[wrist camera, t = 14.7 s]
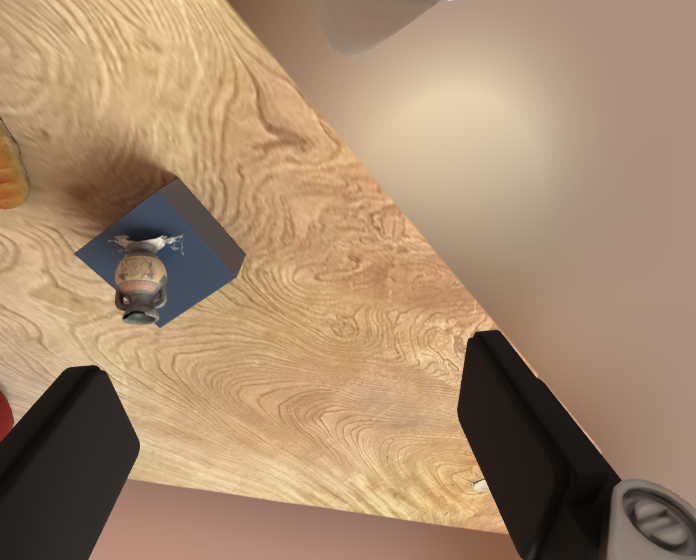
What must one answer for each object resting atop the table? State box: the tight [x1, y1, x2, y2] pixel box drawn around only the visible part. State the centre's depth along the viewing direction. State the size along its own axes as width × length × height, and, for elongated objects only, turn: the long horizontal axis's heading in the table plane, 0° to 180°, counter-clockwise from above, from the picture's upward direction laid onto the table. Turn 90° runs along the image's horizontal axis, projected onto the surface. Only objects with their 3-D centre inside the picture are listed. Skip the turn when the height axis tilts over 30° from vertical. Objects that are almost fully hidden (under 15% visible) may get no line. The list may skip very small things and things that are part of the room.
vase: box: [108, 235, 183, 325], centre depth 27 cm, size 5×5×6 cm
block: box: [75, 178, 246, 328], centre depth 32 cm, size 9×9×5 cm
